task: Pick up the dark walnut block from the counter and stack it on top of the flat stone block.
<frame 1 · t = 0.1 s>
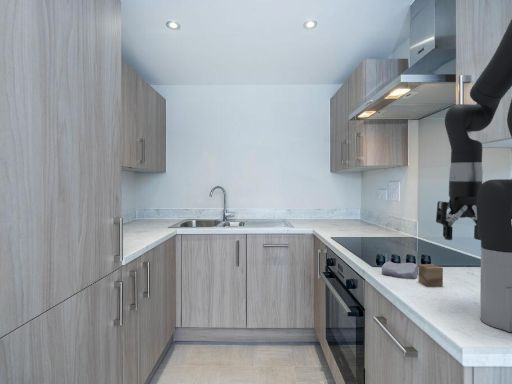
hand: (463, 239, 88), 17 cm above the counter, tool pointing down, fingers open, 8 cm apart
walnut block: (430, 284, 105), on the counter
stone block: (399, 275, 117), on the counter
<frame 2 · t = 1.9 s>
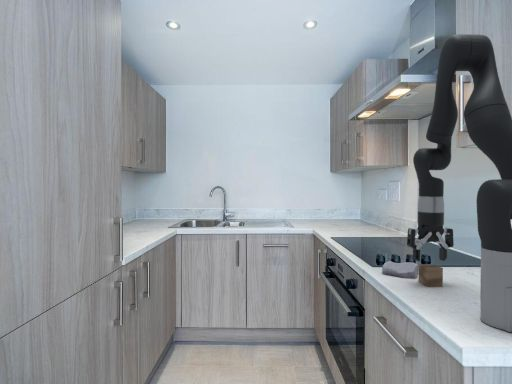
hand: (429, 260, 105), 8 cm above the counter, tool pointing down, fingers open, 8 cm apart
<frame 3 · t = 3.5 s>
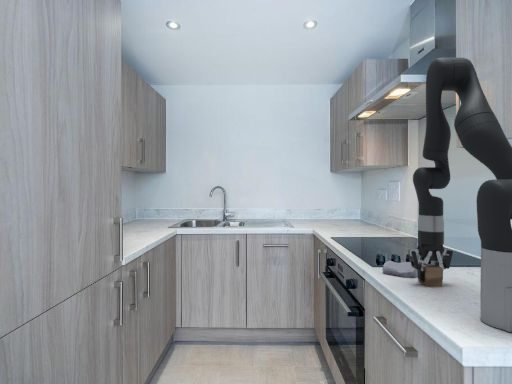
hand: (430, 281, 105), 1 cm above the counter, tool pointing down, fingers closed on walnut block, 5 cm apart
walnut block: (430, 284, 105), on the counter, touching gripper
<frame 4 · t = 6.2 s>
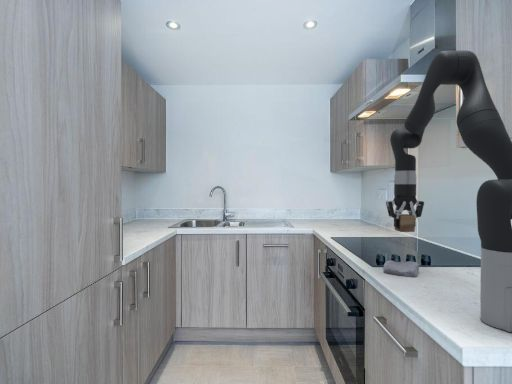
hand: (404, 228, 122), 16 cm above the counter, tool pointing down, fingers closed on walnut block, 5 cm apart
walnut block: (404, 230, 122), point 15 cm above the counter, touching gripper
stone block: (400, 274, 119), on the counter
when the fingers open (6 cm above the counter, at t = 8.9 s): walnut block moves 1 cm, resting on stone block.
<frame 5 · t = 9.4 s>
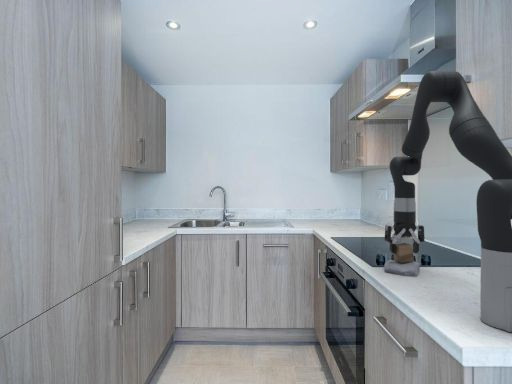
hand: (404, 253, 122), 7 cm above the counter, tool pointing down, fingers open, 8 cm apart
walnut block: (403, 260, 122), point 4 cm above the counter, tilted 7°, touching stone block
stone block: (401, 273, 120), on the counter, touching walnut block
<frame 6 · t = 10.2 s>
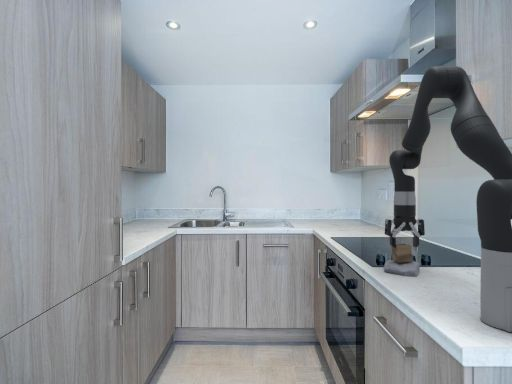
hand: (404, 247, 122), 9 cm above the counter, tool pointing down, fingers open, 8 cm apart
walnut block: (402, 260, 121), point 4 cm above the counter, touching gripper, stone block
everything else where it was.
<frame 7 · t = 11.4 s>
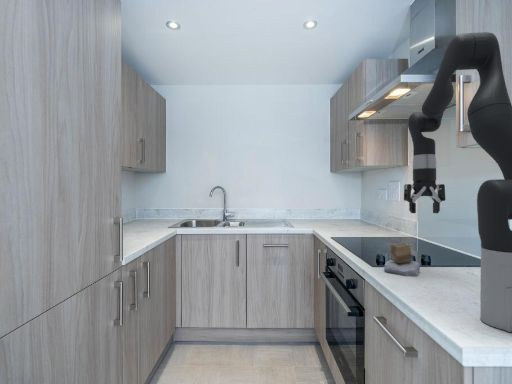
hand: (424, 213, 116), 22 cm above the counter, tool pointing down, fingers open, 8 cm apart
walnut block: (401, 261, 121), point 4 cm above the counter, tilted 5°, touching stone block
everything else where it was.
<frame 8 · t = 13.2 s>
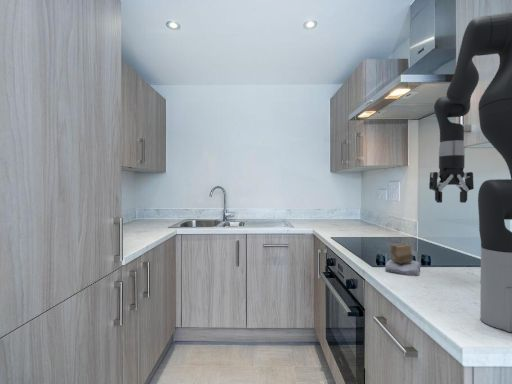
hand: (451, 202, 111), 26 cm above the counter, tool pointing down, fingers open, 8 cm apart
at the end: walnut block inside the target area on the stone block (0.6 cm from its centre), point 4.4 cm above the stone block's base; walnut block tilted 5°; the gripper is holding nothing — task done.
